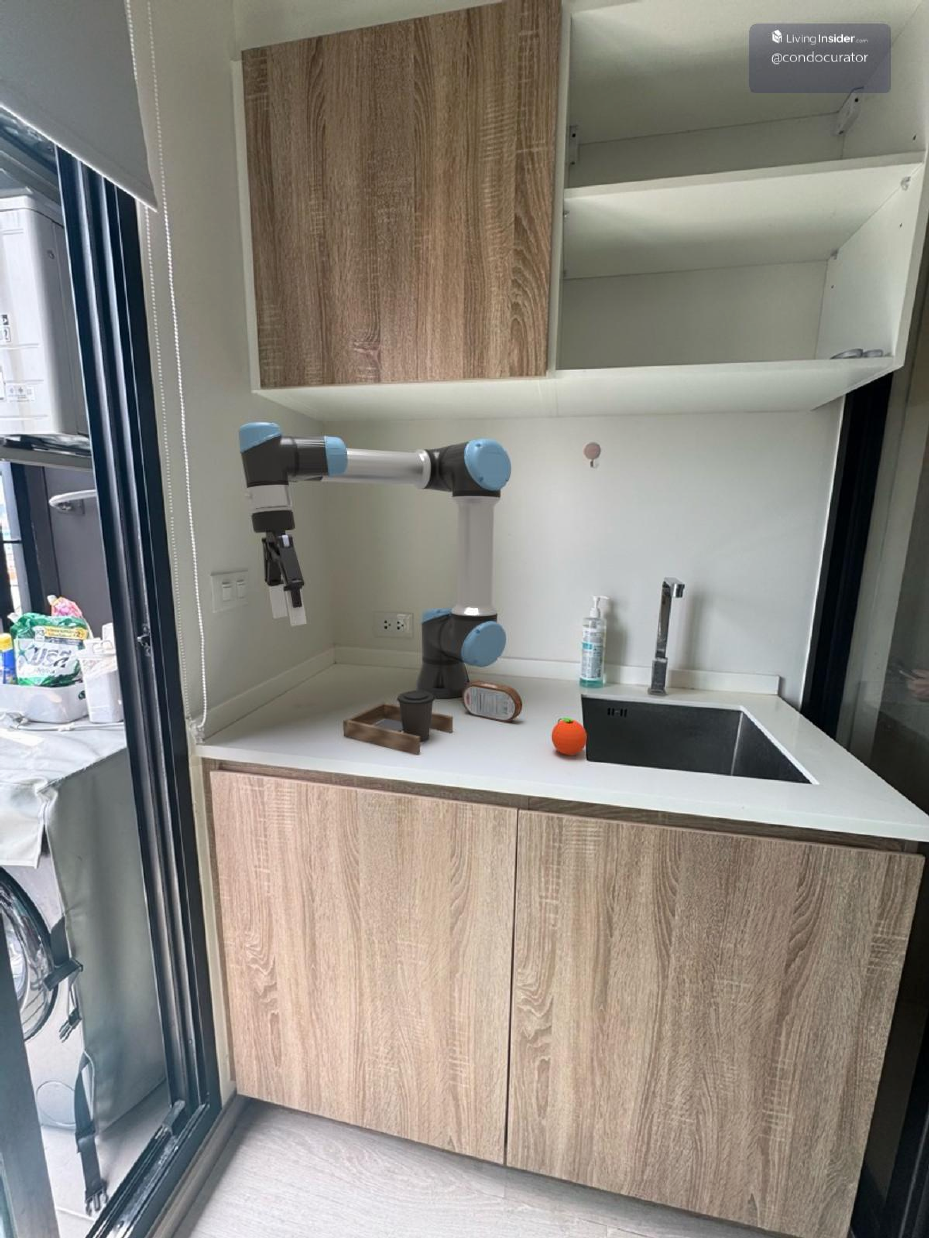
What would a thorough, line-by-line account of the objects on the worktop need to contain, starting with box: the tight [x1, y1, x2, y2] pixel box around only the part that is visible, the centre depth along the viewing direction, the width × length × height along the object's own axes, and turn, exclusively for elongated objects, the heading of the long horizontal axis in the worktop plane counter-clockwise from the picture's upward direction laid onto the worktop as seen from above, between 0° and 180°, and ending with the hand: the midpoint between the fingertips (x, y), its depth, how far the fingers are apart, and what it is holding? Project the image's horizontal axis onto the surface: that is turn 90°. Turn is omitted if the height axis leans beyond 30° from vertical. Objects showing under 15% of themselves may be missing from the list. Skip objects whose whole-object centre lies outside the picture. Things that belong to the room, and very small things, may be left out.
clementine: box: [551, 717, 588, 756], centre depth 105 cm, size 8×7×7 cm
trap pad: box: [372, 718, 403, 732], centre depth 116 cm, size 7×11×1 cm, turn 151°
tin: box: [461, 680, 523, 723], centre depth 124 cm, size 15×3×8 cm, turn 59°
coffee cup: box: [396, 690, 436, 744], centre depth 112 cm, size 8×8×10 cm
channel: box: [342, 701, 454, 756], centre depth 114 cm, size 19×14×4 cm
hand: (289, 620), depth 103 cm, fingers open, 13 cm apart
